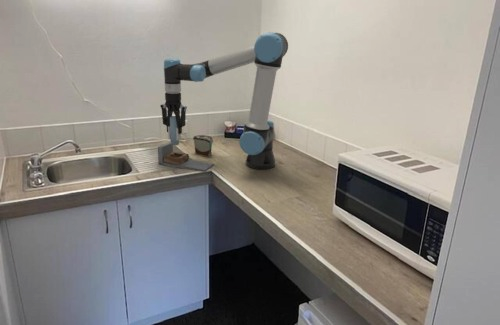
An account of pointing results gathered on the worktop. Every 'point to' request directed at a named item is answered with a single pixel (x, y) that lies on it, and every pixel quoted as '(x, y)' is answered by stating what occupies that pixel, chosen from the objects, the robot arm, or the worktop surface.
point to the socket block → (176, 158)
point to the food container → (203, 145)
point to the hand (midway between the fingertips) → (174, 139)
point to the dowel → (173, 130)
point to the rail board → (188, 164)
